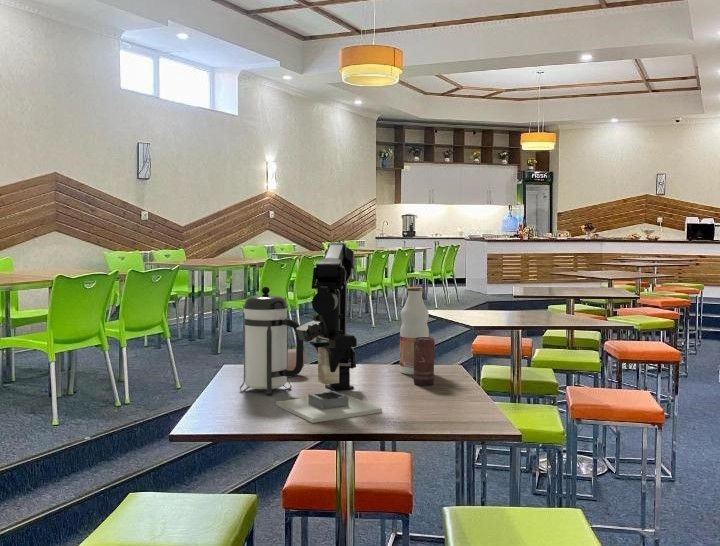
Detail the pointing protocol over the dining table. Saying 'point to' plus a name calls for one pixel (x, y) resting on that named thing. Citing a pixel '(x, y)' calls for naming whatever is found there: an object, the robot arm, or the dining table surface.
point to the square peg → (326, 368)
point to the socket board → (319, 415)
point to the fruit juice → (412, 327)
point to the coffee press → (268, 343)
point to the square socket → (328, 400)
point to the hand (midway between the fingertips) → (328, 370)
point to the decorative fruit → (293, 358)
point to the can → (424, 361)
